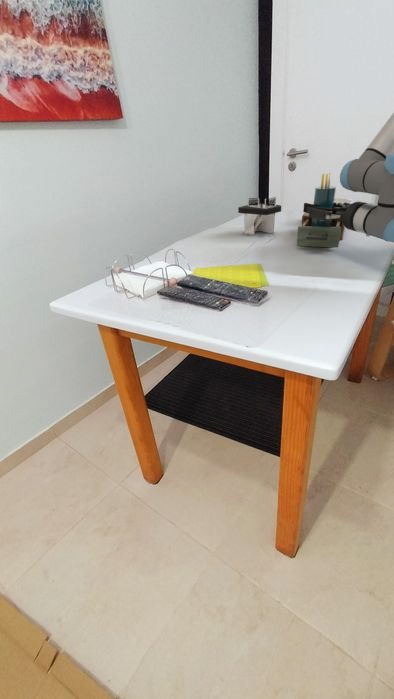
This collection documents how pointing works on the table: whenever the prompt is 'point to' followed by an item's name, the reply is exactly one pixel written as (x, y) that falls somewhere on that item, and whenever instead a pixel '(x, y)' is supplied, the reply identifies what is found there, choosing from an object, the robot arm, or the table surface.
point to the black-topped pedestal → (259, 215)
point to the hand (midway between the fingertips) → (313, 206)
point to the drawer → (318, 234)
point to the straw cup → (324, 200)
